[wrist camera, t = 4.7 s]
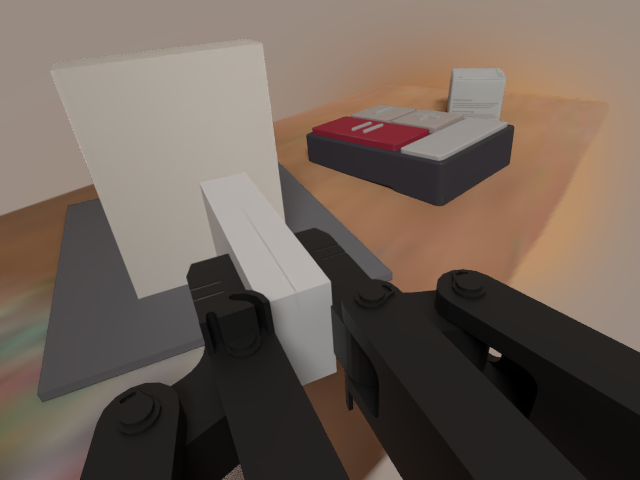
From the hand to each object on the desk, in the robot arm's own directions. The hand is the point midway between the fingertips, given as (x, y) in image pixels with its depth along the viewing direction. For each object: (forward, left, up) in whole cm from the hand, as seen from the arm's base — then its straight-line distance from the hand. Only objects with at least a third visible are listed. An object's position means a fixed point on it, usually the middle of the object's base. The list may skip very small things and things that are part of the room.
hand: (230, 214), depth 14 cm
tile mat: (0, +14, -8) cm, 16 cm away
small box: (+34, +26, -9) cm, 43 cm away
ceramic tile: (0, +10, -8) cm, 12 cm away
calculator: (+19, +18, -9) cm, 28 cm away
